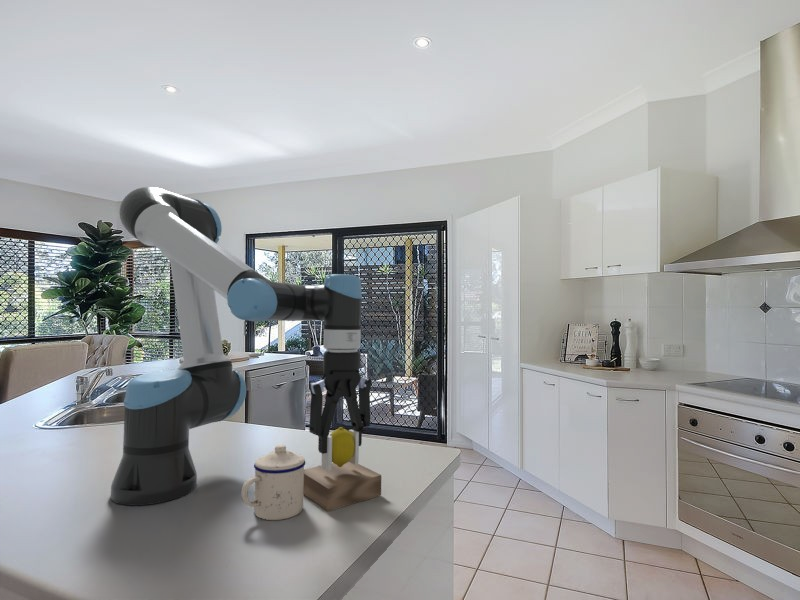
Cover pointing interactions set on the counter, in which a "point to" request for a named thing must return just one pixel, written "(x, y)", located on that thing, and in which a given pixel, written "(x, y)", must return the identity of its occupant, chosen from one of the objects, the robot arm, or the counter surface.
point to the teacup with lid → (277, 485)
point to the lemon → (342, 446)
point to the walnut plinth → (341, 485)
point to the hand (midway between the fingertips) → (340, 465)
